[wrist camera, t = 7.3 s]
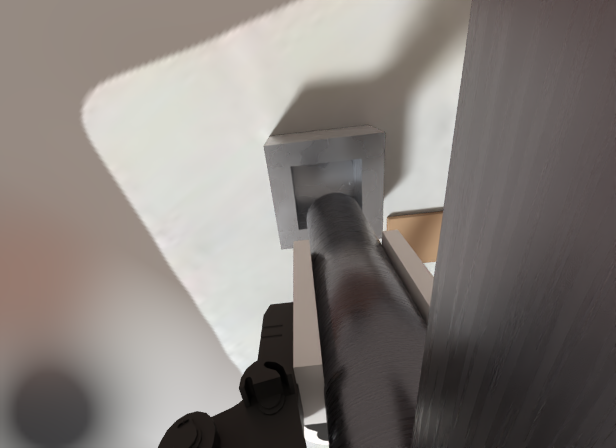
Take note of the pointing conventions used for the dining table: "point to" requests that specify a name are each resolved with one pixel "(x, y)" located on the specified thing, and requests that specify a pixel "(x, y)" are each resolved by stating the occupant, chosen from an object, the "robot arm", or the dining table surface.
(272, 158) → the block
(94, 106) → the dining table surface
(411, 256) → the robot arm
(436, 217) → the copper plate
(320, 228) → the chuck key
